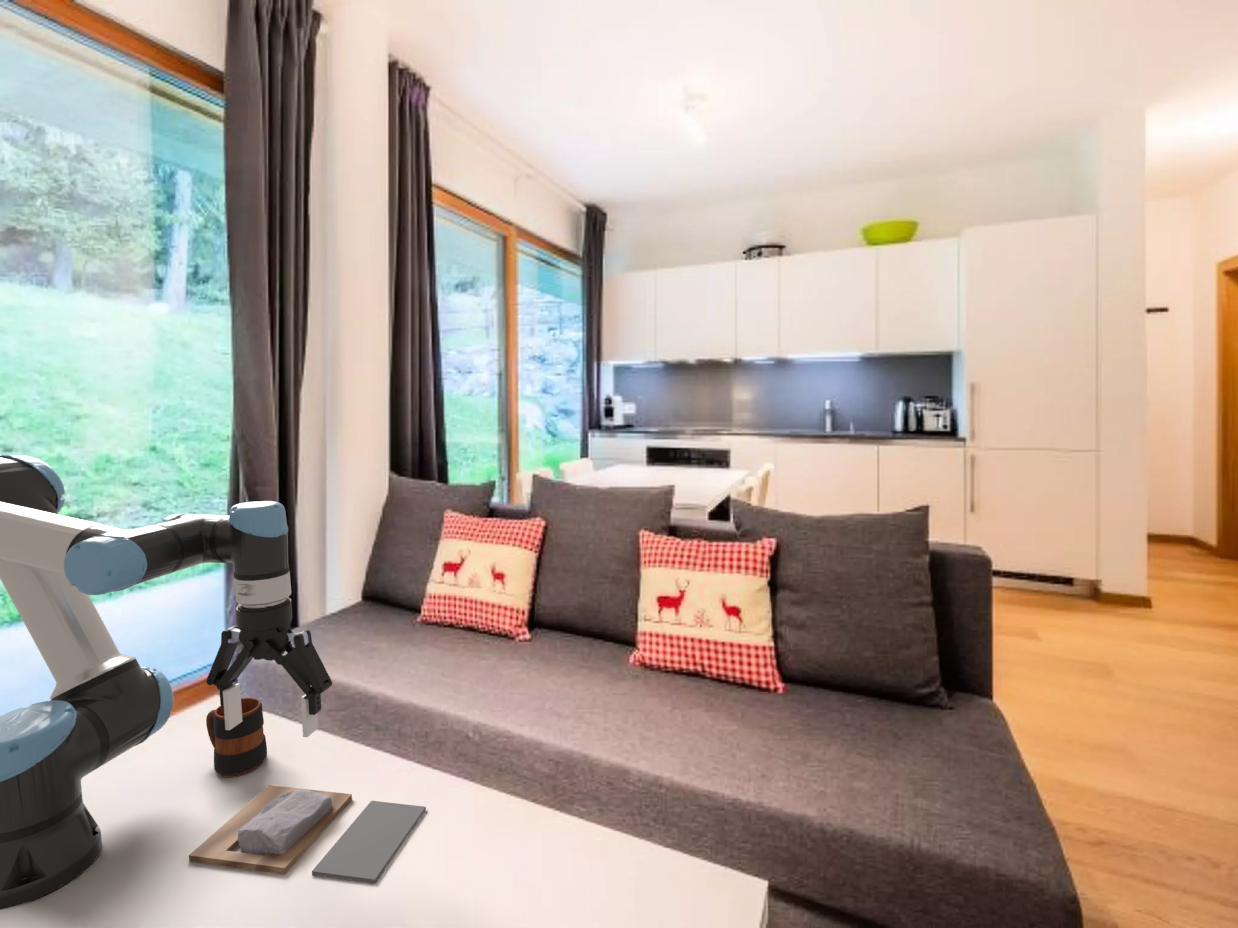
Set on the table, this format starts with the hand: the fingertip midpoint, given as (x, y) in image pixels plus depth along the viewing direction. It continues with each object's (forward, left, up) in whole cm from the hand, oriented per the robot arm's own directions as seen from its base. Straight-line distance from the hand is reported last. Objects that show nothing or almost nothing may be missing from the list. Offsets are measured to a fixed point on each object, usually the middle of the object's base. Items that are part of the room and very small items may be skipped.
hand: (272, 729), depth 97 cm
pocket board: (0, 0, -17) cm, 17 cm away
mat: (+17, 0, -17) cm, 24 cm away
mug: (-20, +15, -17) cm, 31 cm away
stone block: (+1, 0, -17) cm, 17 cm away
